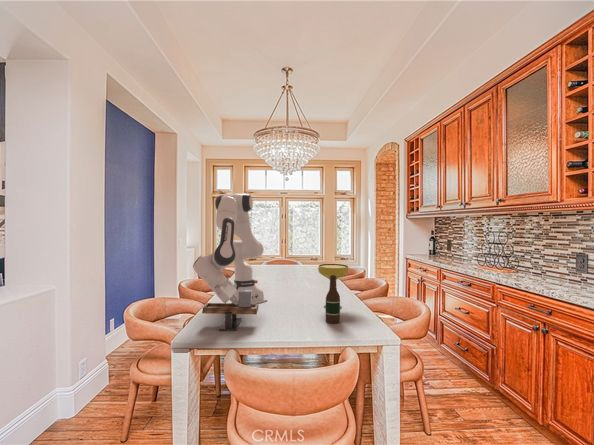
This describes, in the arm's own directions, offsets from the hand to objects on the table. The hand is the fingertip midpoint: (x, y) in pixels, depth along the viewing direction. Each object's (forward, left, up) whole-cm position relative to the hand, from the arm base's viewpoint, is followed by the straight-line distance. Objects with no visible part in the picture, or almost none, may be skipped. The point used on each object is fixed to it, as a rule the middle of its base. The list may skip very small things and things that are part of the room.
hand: (238, 303), depth 165 cm
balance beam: (+3, -2, -4) cm, 5 cm away
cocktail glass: (-62, +1, -11) cm, 63 cm away
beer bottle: (-43, +22, -11) cm, 50 cm away
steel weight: (-3, +2, -3) cm, 4 cm away
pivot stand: (+3, -2, -11) cm, 11 cm away
